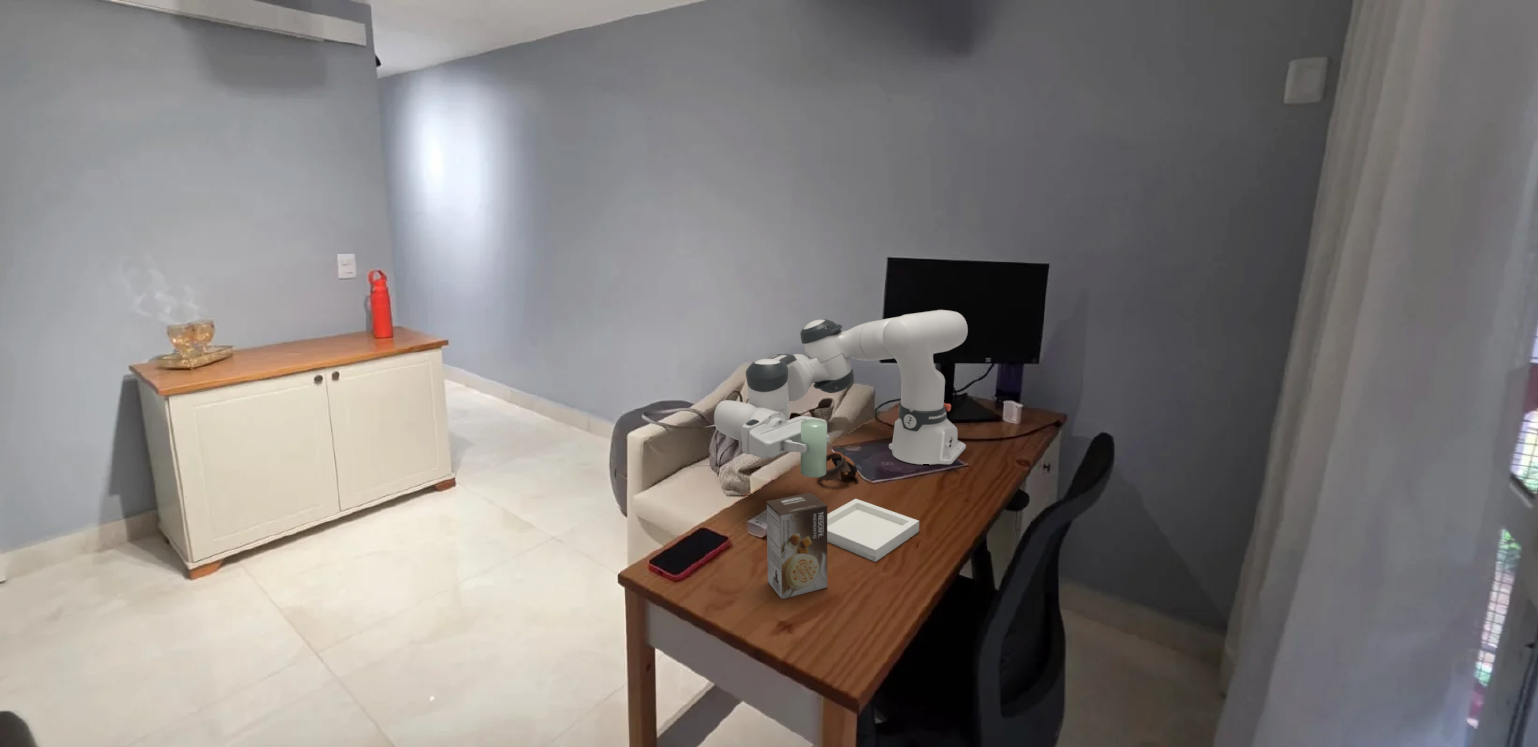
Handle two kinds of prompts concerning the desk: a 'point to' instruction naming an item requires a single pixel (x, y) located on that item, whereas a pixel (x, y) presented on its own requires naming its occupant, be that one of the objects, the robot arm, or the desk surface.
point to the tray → (868, 529)
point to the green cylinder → (814, 448)
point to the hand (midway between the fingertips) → (817, 444)
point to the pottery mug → (840, 467)
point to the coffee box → (797, 544)
